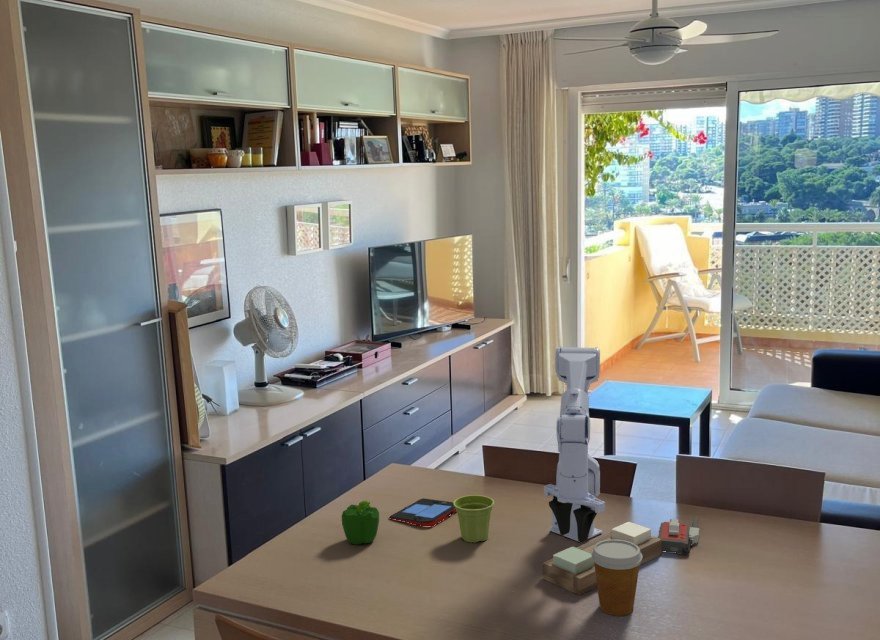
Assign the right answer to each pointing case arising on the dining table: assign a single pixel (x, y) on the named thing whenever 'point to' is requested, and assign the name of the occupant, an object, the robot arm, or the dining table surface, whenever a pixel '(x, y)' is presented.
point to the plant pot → (474, 516)
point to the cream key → (631, 533)
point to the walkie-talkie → (678, 536)
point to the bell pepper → (360, 523)
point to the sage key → (573, 560)
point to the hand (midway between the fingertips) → (573, 537)
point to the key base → (588, 577)
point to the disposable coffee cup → (616, 575)
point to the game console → (425, 512)
